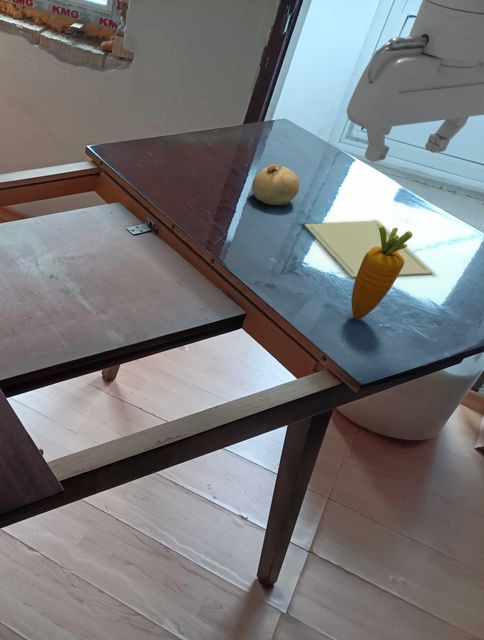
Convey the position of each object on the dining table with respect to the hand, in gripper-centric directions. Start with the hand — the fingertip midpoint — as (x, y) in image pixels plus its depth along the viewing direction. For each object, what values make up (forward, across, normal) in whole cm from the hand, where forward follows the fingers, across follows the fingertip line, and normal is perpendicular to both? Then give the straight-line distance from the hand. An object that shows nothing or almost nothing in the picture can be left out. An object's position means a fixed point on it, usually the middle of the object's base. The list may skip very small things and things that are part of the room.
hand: (404, 154), depth 82 cm
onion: (+25, +13, +33) cm, 43 cm away
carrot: (+25, +3, -1) cm, 26 cm away
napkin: (+25, +19, +14) cm, 34 cm away
